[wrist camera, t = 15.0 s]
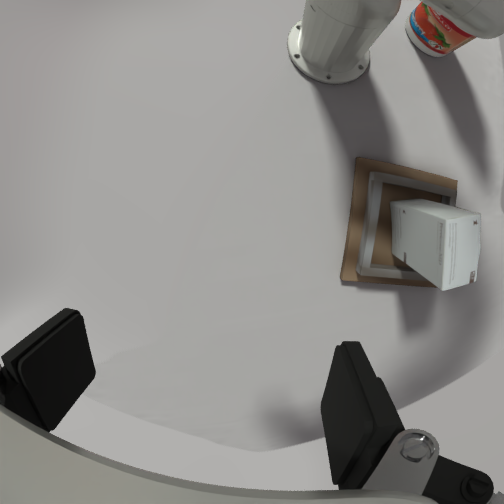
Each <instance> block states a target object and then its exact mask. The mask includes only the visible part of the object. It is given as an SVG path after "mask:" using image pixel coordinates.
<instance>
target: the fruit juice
mask: <svg viewBox="0 0 504 504" xmlns="http://www.w3.org/2000/svg"><path fill="white" fill-rule="evenodd" d="M405 27H406V32H407V34H408V36H409V38H410V39H411V41H412V42H413V43H414V44H415V45H416V46H417V47H418V48H419V49H420V50H421V51H423V52H424V53H426V54H428V55H430V56H434V57H443V56H446V55H448V54H449V53H451V52H453V51H454V50H456V49H458V48H459V47H461V46H463V45H464V44H466V43H468V42H469V41H471V40H473V39H475V38H476V37H475V36H473V35H471V34H469V33H468V32H466V31H464V30H463V29H461V28H460V27H459V26H457V25H456V24H454V23H453V22H452V21H450V20H449V19H447V18H446V17H444V16H443V15H441V14H440V13H439V12H437V11H436V10H434V9H433V8H431V7H430V6H428V5H426V4H425V3H423V2H421V3H420V4H419V5H418V6H417V7H416V8H415V9H414V10H413V12H412V13H411V14H410V15H409V16H408V18H407V19H406V23H405Z"/></svg>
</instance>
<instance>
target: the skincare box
mask: <svg viewBox="0 0 504 504" xmlns="http://www.w3.org/2000/svg"><path fill="white" fill-rule="evenodd" d="M390 210H391V221H392V254H393V255H395V256H396V257H397V258H399V259H400V260H402V261H403V262H404V263H406V264H407V265H409V266H410V267H411V268H413V269H414V270H415V271H417V272H418V273H419V274H421V275H422V276H423V277H425V278H426V279H427V280H429V281H430V282H431V283H433V284H434V285H435V286H437V287H438V288H439V289H441V290H442V291H445V290H449V289H453V288H456V287H460V286H463V285H466V284H470V283H473V282H476V277H477V268H478V259H479V255H480V250H481V244H480V225H481V214H480V213H475V212H471V211H468V210H464V209H461V208H457V207H453V206H449V205H445V204H441V203H437V202H433V201H429V200H425V199H421V198H419V199H408V200H398V201H391V202H390Z"/></svg>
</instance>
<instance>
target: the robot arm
mask: <svg viewBox="0 0 504 504" xmlns="http://www.w3.org/2000/svg"><path fill="white" fill-rule="evenodd" d="M420 1H422V2H423V3H425V4H426V5H428V6H430V7H431V8H433V9H434V10H436V11H437V12H439V13H440V14H441V15H443V16H444V17H446V18H447V19H449V20H450V21H452V22H453V23H454V24H456V25H457V26H459V27H460V28H461V29H463V30H464V31H466V32H468V33H469V34H471V35H473V36H475V37H478V38H482V39H492V38H496V37H498V36H500V35H502V34H503V33H504V0H420ZM400 5H401V0H306V4H305V9H304V14H303V19H302V20H300V21H299V22H298V23H296V24H295V25H294V26H293V28H292V29H291V31H290V33H289V35H288V41H287V48H288V53H289V55H290V58H291V60H292V61H293V63H294V64H295V65H296V66H297V67H298V69H299V70H300V71H302V72H303V73H304V74H306V75H307V76H309V77H311V78H313V79H315V80H317V81H320V82H324V83H328V84H344V83H348V82H351V81H353V80H355V79H357V78H358V77H359V76H361V75H362V74H363V73H364V71H365V70H366V68H367V66H368V64H369V60H370V51H369V48H370V47H371V46H372V44H373V43H374V42H375V41H376V39H377V38H378V37H379V36H380V35H381V33H382V32H383V31H384V30H385V28H386V27H387V26H388V25H389V24H390V22H391V21H392V20H393V19H394V17H395V16H396V15H397V13H398V11H399V8H400ZM298 29H299V30H298ZM295 57H297V58H298V59H296V58H295ZM359 68H360V69H361V70H360V69H359ZM327 77H328V78H329V79H327ZM1 358H2V361H3V363H4V367H1V364H0V504H504V494H502V493H501V492H498V493H497V494H495V493H493V490H494V487H493V482H492V480H491V478H490V477H489V476H488V475H487V474H485V473H483V472H481V471H479V470H476V469H473V468H470V467H467V466H465V465H462V464H460V463H457V462H454V461H452V460H449V459H447V458H444V457H442V456H440V455H439V444H438V442H437V440H436V439H435V437H433V436H432V435H431V434H430V433H428V432H426V431H424V430H420V429H408V430H405V428H404V426H403V424H402V422H401V419H400V417H399V415H398V413H397V411H396V408H395V406H394V404H393V402H392V400H391V398H390V396H389V393H388V391H387V389H386V387H385V385H384V383H383V381H382V380H381V378H379V377H376V375H375V373H374V371H373V368H372V366H371V364H370V362H369V360H368V358H367V356H366V354H365V352H364V350H363V348H362V346H361V344H360V342H358V341H343V342H342V344H341V345H337V346H336V348H335V352H334V356H333V360H332V364H331V368H330V372H329V376H328V380H327V383H326V387H325V391H324V394H323V398H322V401H321V415H322V421H323V426H324V432H325V438H326V443H327V450H328V456H329V463H330V469H331V476H332V482H333V484H334V485H338V487H339V490H327V491H326V490H322V491H321V490H318V491H275V490H258V489H245V488H234V487H226V486H218V485H211V484H205V483H199V482H194V481H188V480H183V479H179V478H174V477H170V476H165V475H161V474H157V473H153V472H150V471H146V470H143V469H139V468H135V467H132V466H129V465H126V464H123V463H120V462H117V461H114V460H111V459H109V458H106V457H103V456H100V455H98V454H95V453H93V452H90V451H88V450H85V449H83V448H81V447H78V446H76V445H74V444H71V443H69V442H67V441H65V440H63V439H61V438H59V437H57V436H55V435H53V434H51V433H49V432H50V431H51V430H54V429H55V428H56V427H57V425H58V424H59V423H60V421H61V420H62V418H63V417H64V416H65V415H66V413H67V412H68V411H69V410H70V408H71V407H72V406H73V404H74V403H75V402H76V401H77V399H78V398H79V397H80V395H81V394H82V393H83V392H84V390H85V389H86V388H87V387H88V385H89V384H90V383H91V382H92V380H93V379H94V377H95V374H96V371H95V367H94V363H93V359H92V355H91V351H90V347H89V342H88V338H87V334H86V329H85V324H84V319H83V316H82V315H81V314H80V312H79V311H78V310H73V309H69V308H65V309H63V310H62V311H60V312H59V313H57V314H56V315H55V316H53V317H52V318H51V319H49V320H48V321H47V322H45V323H44V324H43V325H41V326H40V327H39V328H37V329H36V330H35V331H33V332H32V333H31V334H29V335H28V336H27V337H25V338H24V339H23V340H21V341H20V342H19V343H18V344H16V345H15V346H14V347H13V348H11V349H10V350H9V351H8V352H6V353H5V354H4V355H3V356H1Z"/></svg>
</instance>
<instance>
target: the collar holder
mask: <svg viewBox="0 0 504 504" xmlns="http://www.w3.org/2000/svg"><path fill="white" fill-rule="evenodd" d="M457 182H458V181H457V180H454V179H450V178H447V177H443V176H440V175H436V174H432V173H428V172H424V171H421V170H417V169H412V168H408V167H404V166H400V165H395V164H391V163H386V162H381V161H376V160H371V159H366V158H361V157H358V158H356V164H355V175H354V184H353V193H352V201H351V209H350V217H349V224H348V231H347V238H346V244H345V250H344V256H343V262H342V268H341V273H340V278H341V279H342V280H346V281H357V282H369V283H382V284H395V285H408V286H421V287H436V288H438V287H437V286H435V285H434V284H433V283H431V282H430V281H429V280H427V279H426V278H425V277H423V276H422V275H421V274H419V273H418V272H417V271H415V270H414V269H413V268H411V267H410V266H409V265H407V264H406V263H404V262H403V261H402V260H400V259H399V258H397V257H396V256H395V255H393V254H392V221H391V210H390V202H391V201H398V200H408V199H419V198H421V199H425V200H429V201H433V202H437V203H441V204H445V205H449V206H453V207H455V204H456V196H457Z"/></svg>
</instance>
